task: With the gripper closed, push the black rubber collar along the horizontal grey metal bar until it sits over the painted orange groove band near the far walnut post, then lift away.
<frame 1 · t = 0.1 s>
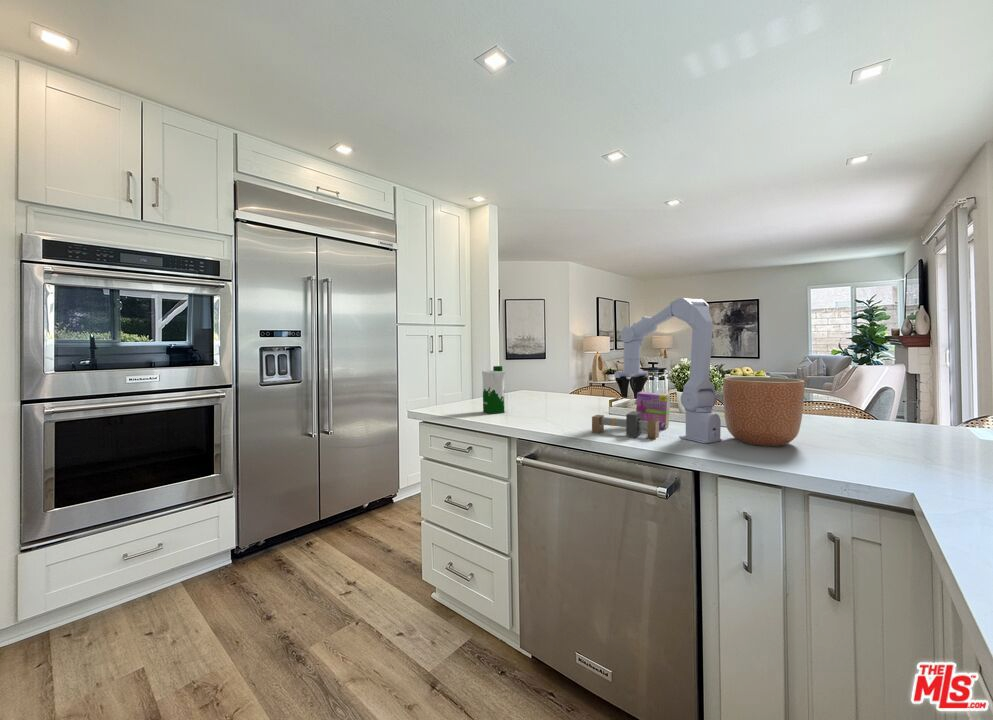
hand: (631, 396, 159), 10 cm above the worktop, fingers open, 6 cm apart
pipe rig: (624, 434, 142), on the worktop
milk carton: (493, 412, 189), on the worktop
planter: (760, 442, 131), on the worktop
box: (651, 426, 155), on the worktop, touching gripper
collar: (634, 423, 141), point 4 cm above the worktop, slide at -3.0 cm
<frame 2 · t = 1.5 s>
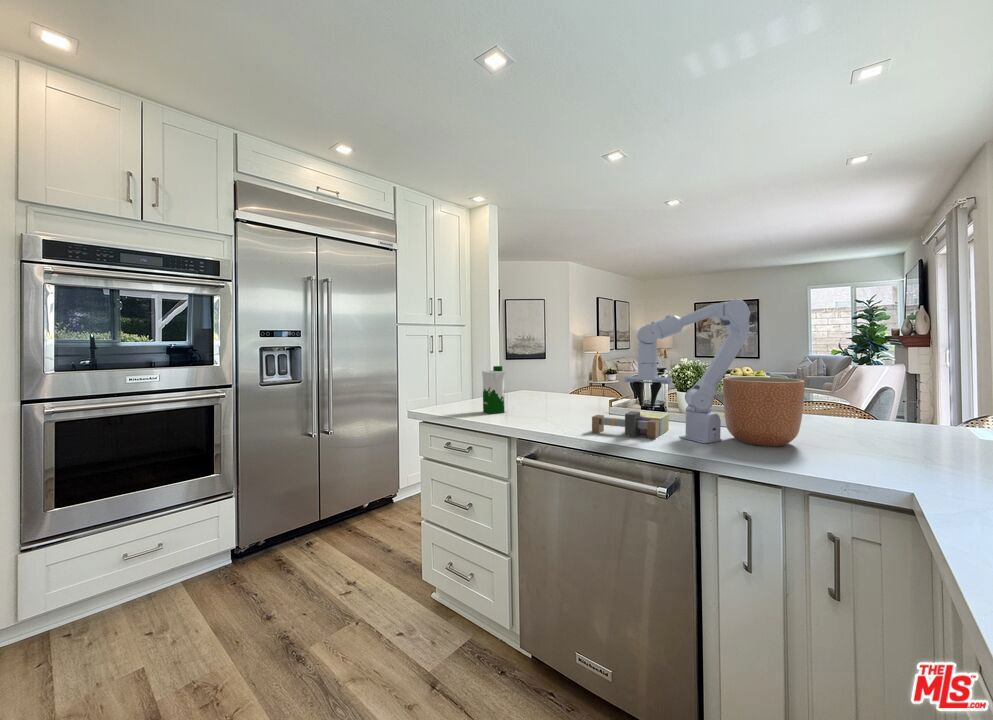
hand: (647, 405, 138), 10 cm above the worktop, fingers open, 3 cm apart
box: (653, 420, 152), point 3 cm above the worktop
collar: (632, 423, 141), point 4 cm above the worktop, slide at -2.6 cm
everything else where it was.
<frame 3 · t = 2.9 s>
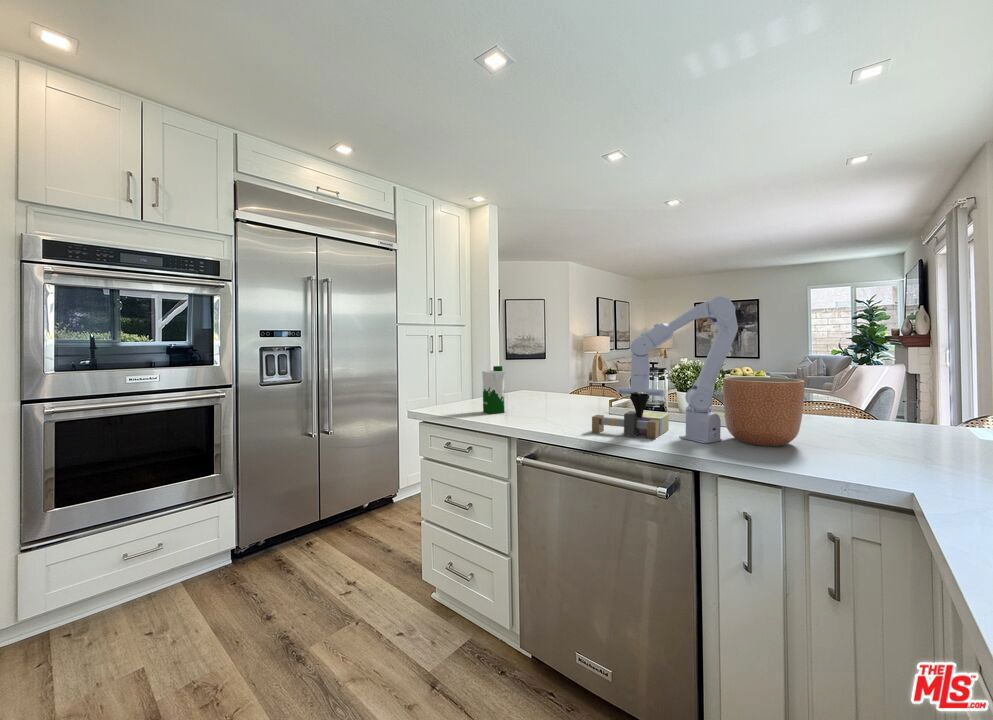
hand: (639, 417, 140), 6 cm above the worktop, fingers closed
collar: (631, 423, 141), point 4 cm above the worktop, slide at -2.3 cm, touching gripper
everything else where it was.
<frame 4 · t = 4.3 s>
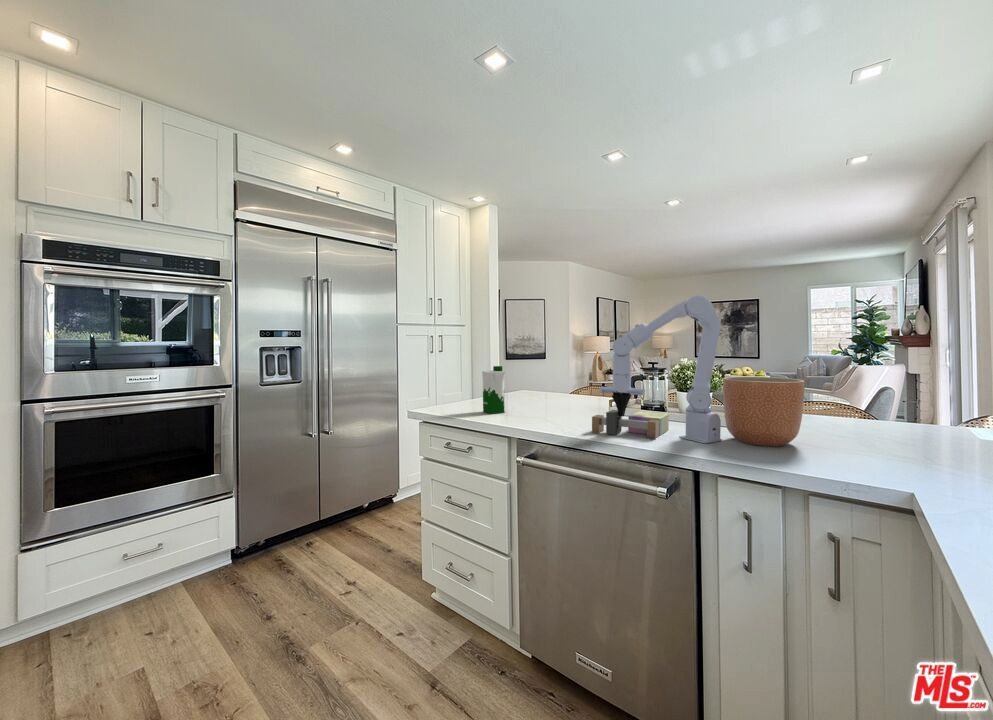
hand: (621, 416, 143), 6 cm above the worktop, fingers closed
collar: (613, 421, 144), point 4 cm above the worktop, slide at 3.5 cm, touching gripper
everything else where it was.
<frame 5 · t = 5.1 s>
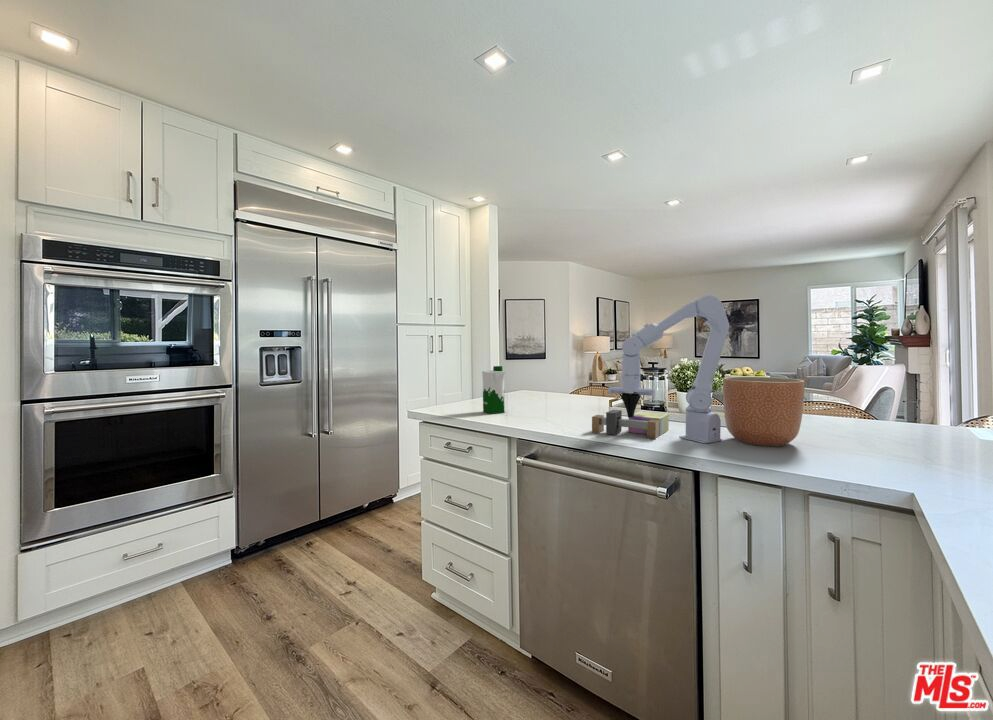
hand: (630, 416, 141), 6 cm above the worktop, fingers closed
collar: (613, 421, 144), point 4 cm above the worktop, slide at 3.5 cm
everything else where it was.
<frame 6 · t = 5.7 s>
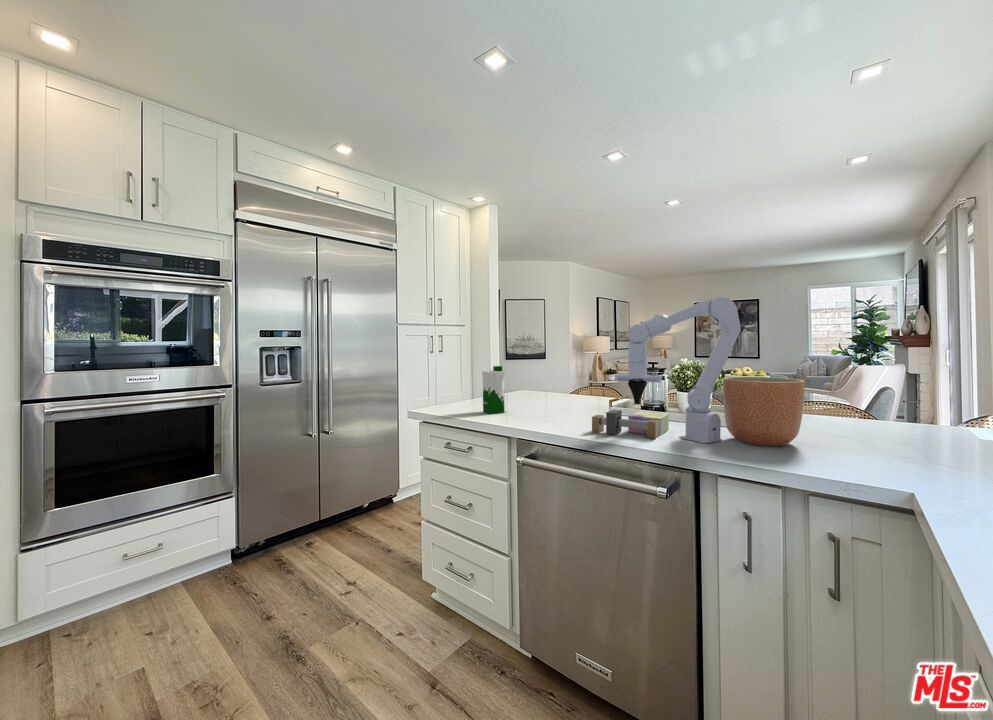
hand: (637, 403, 142), 10 cm above the worktop, fingers closed
nothing on the worktop moved.
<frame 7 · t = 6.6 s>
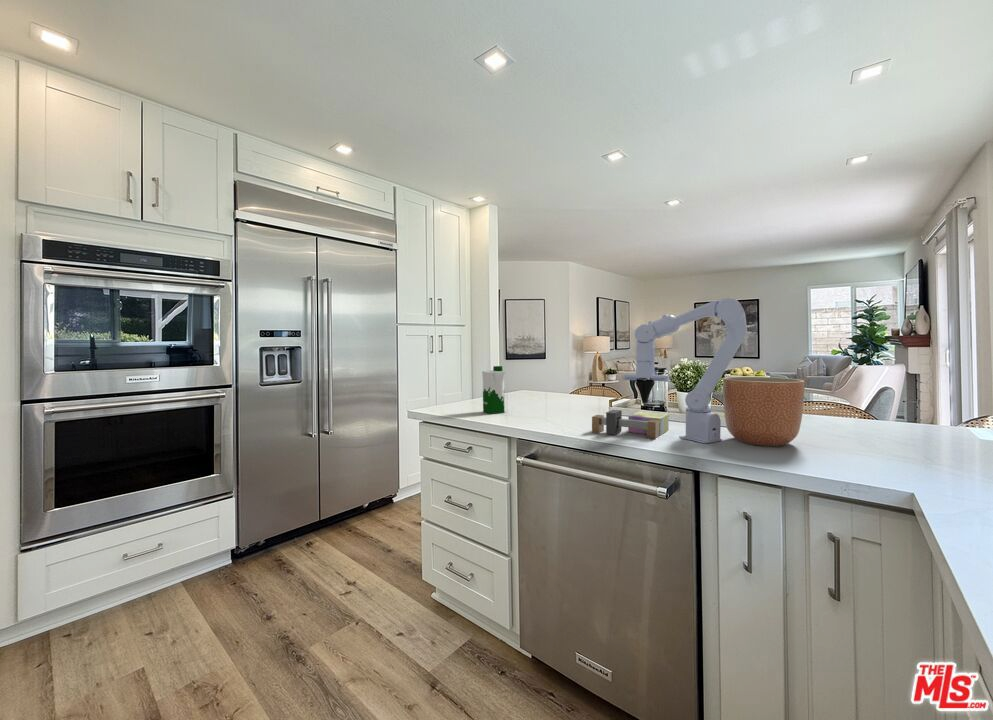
hand: (645, 402, 143), 10 cm above the worktop, fingers closed
nothing on the worktop moved.
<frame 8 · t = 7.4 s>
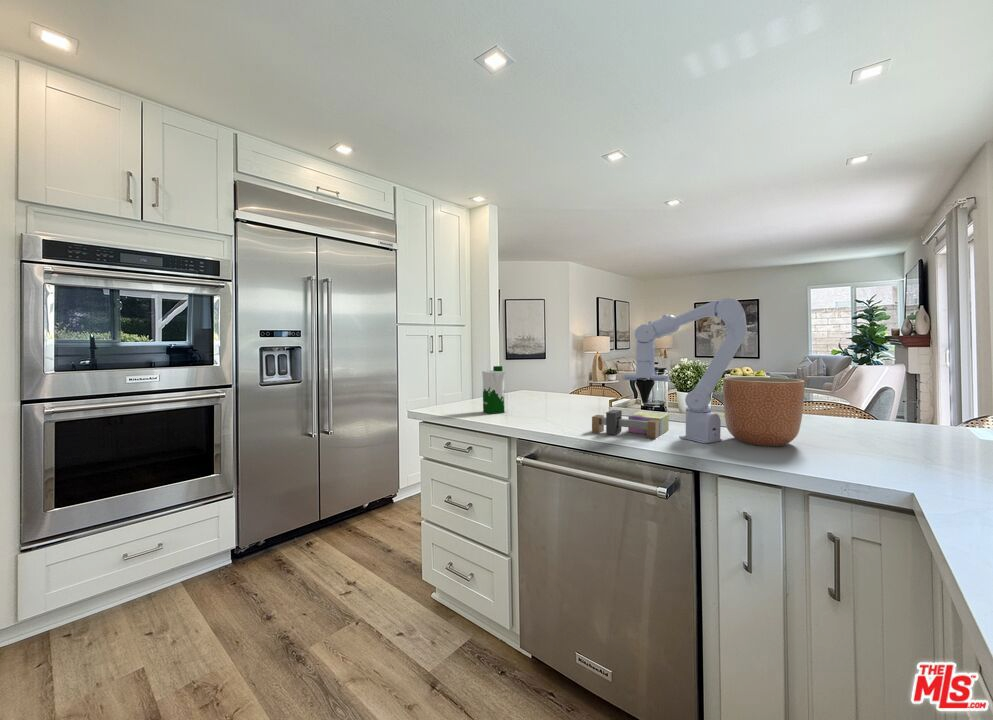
hand: (645, 402, 143), 10 cm above the worktop, fingers closed
nothing on the worktop moved.
at the end: collar slide at 3.5 cm; collar touching nothing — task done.
